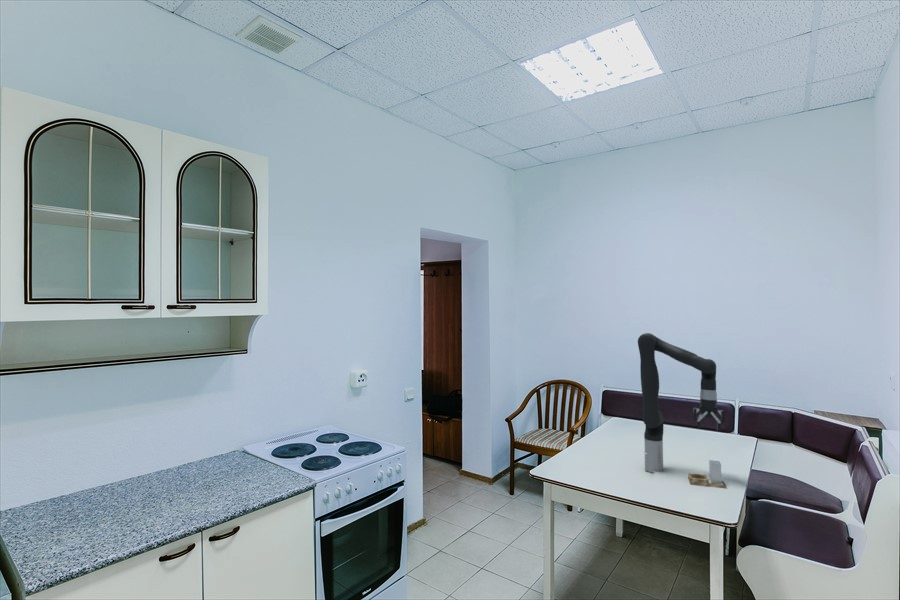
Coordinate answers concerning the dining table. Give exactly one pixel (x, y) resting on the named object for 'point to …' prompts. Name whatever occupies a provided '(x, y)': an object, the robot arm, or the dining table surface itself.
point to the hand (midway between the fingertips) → (708, 429)
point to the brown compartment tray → (703, 481)
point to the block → (715, 472)
